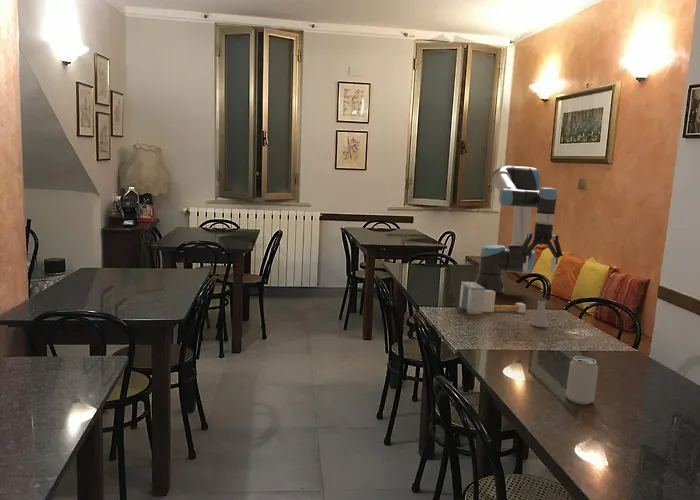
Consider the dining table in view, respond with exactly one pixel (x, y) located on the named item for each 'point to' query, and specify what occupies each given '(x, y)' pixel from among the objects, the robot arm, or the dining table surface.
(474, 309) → the housing
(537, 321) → the flask
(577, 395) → the can
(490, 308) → the white and wooden mallet
